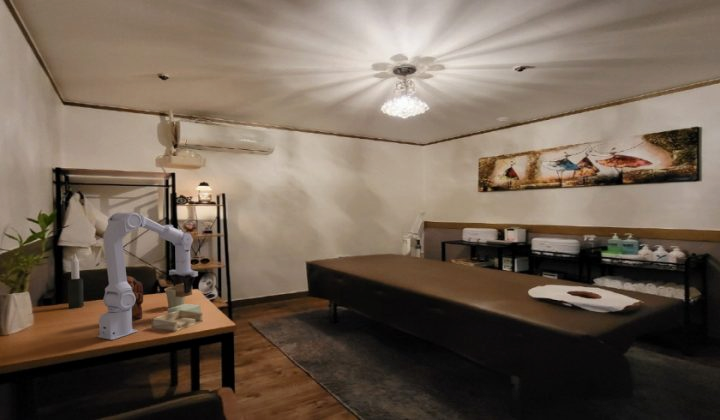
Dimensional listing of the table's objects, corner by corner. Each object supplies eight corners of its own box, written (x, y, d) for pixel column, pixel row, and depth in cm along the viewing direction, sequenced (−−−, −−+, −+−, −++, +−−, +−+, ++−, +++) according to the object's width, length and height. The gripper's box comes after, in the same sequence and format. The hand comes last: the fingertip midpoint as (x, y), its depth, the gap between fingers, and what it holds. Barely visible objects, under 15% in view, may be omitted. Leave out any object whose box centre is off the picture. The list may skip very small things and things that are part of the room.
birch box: (174, 331, 134) (174, 322, 134) (151, 328, 139) (151, 319, 139) (202, 321, 146) (202, 312, 146) (180, 318, 151) (180, 309, 151)
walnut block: (182, 297, 154) (182, 285, 154) (175, 296, 155) (175, 284, 155) (192, 294, 158) (191, 282, 158) (185, 294, 160) (184, 282, 160)
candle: (71, 306, 174) (69, 253, 173) (84, 305, 176) (82, 252, 176) (67, 309, 169) (66, 254, 169) (81, 307, 171) (80, 254, 171)
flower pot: (191, 304, 173) (191, 285, 173) (180, 309, 164) (179, 290, 164) (172, 304, 174) (172, 285, 174) (160, 309, 165) (159, 290, 165)
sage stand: (183, 318, 151) (183, 310, 151) (167, 316, 155) (167, 309, 154) (200, 312, 159) (200, 305, 159) (185, 310, 163) (185, 303, 163)
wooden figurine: (112, 325, 143) (111, 279, 143) (107, 322, 147) (106, 277, 147) (145, 318, 152) (144, 274, 152) (139, 315, 156) (138, 273, 156)
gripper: (203, 259, 158) (204, 291, 158) (178, 258, 163) (179, 289, 163) (189, 262, 151) (190, 295, 151) (164, 260, 157) (165, 292, 157)
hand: (183, 292), depth 157 cm, fingers closed on walnut block, 4 cm apart
